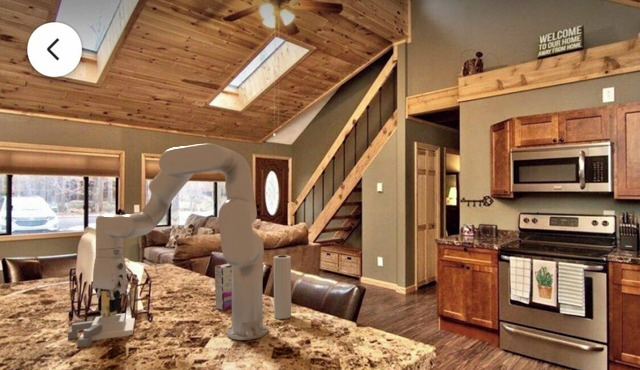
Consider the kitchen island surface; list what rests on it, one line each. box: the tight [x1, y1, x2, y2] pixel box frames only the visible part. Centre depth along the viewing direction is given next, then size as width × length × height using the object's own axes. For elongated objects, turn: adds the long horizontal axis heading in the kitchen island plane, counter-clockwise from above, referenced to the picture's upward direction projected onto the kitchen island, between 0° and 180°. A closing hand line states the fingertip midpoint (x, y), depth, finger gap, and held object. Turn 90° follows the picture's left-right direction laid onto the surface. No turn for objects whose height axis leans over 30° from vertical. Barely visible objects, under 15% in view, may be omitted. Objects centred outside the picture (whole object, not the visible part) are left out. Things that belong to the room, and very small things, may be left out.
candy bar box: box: [214, 262, 232, 311], centre depth 142 cm, size 11×5×16 cm, turn 143°
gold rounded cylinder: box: [99, 289, 117, 317], centre depth 117 cm, size 5×5×8 cm
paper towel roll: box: [273, 254, 292, 320], centre depth 130 cm, size 7×6×21 cm
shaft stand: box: [67, 312, 136, 348], centre depth 114 cm, size 17×18×4 cm
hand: (108, 309), depth 117 cm, fingers closed on gold rounded cylinder, 4 cm apart
